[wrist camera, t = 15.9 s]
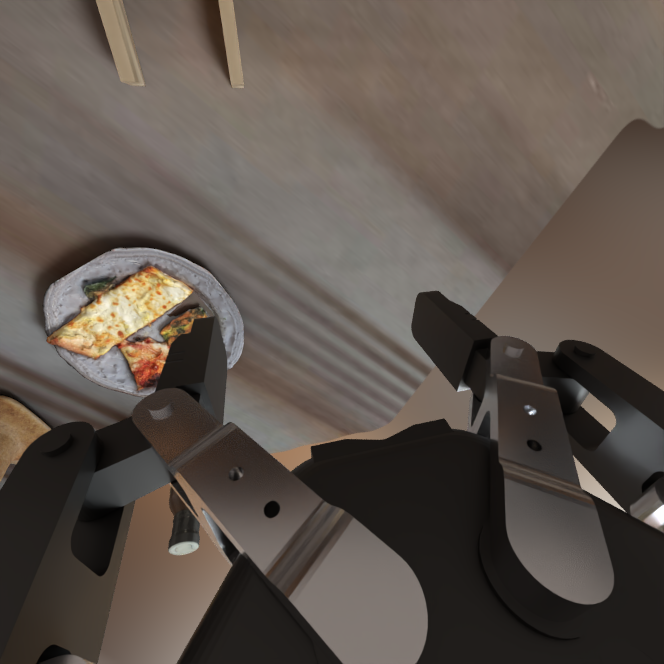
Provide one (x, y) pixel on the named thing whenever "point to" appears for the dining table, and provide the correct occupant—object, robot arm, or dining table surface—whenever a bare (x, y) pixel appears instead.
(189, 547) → the sauce bottle
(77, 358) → the food plate
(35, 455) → the robot arm
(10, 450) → the stone cup
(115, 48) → the wooden stick frame
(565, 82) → the dining table surface
